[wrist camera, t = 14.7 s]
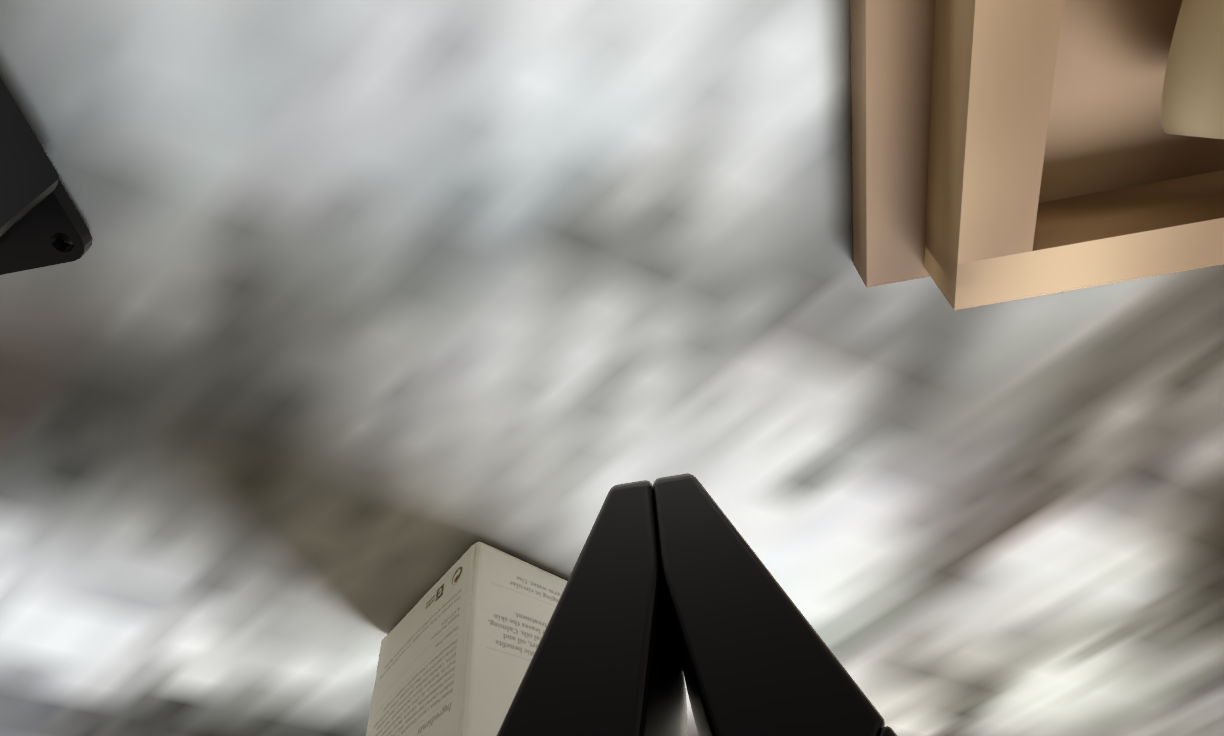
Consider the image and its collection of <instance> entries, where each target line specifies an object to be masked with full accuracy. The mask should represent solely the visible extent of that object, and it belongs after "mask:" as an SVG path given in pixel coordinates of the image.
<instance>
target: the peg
mask: <svg viewBox="0 0 1224 736" xmlns="http://www.w3.org/2000/svg"><path fill="white" fill-rule="evenodd" d="M1161 120H1162V127H1163V130H1164V131H1165V133H1167V134H1173V135H1183V136H1194V137H1204V138H1215V139H1224V0H1183V1H1182V4H1181V8H1180V11H1179V15H1178V18H1177V22H1176V26H1175V30H1174V34H1173V38H1172V42H1171V47H1170V51H1169V56H1168V61H1167V66H1166V72H1165V78H1164V85H1163V93H1162V106H1161Z"/></svg>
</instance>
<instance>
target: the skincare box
mask: <svg viewBox="0 0 1224 736" xmlns="http://www.w3.org/2000/svg"><path fill="white" fill-rule="evenodd" d="M567 582H568V581H566V580H564V579H562V578H560V577H557V576H555V575H553V574H551V573H548V572H546V571H544V570H542V569H540V568H537V567H535V566H533V565H531V564H529V563H527V562H524V561H522V560H520V559H518V558H516V557H513V556H511V555H509V554H507V553H504V552H502V551H500V550H498V549H496V548H494V547H491V546H489V545H487V544H485V543H482V542H476V543H475V544H473V545H472V546H471V547H470V548H469V549H468V550H467V551H466V552H465V553H464V554H463V555H462V557H461V558H460V559H459V560H458V561H457V562H456V563H455V564H454V565H453V566H452V567H451V568H450V569H449V570H448V571H447V572H446V573H445V574H444V575H443V576H442V577H441V579H440V580H439V581H438V582H437V583H436V584H435V585H434V586H433V587H432V588H431V589H430V590H429V591H428V592H427V593H426V594H425V595H424V596H423V597H422V599H421V600H420V601H419V602H418V603H417V604H416V605H415V606H414V607H413V608H412V609H411V611H410V612H409V613H408V614H407V615H406V616H405V617H404V618H403V619H402V620H401V621H400V622H399V623H398V624H397V625H396V626H395V627H394V628H393V630H392V631H391V632H390V633H389V634H388V635H387V636H386V637H385V638H384V639H383V640H382V643H381V649H380V654H379V661H378V667H377V674H376V681H375V686H374V691H373V696H372V702H371V708H370V715H369V721H368V727H367V733H366V736H497V734H498V731H499V729H500V727H501V725H502V723H503V721H504V718H505V716H506V714H507V712H508V710H509V708H510V705H511V703H512V701H513V699H514V697H515V695H516V692H517V690H518V688H519V686H520V684H521V682H522V679H523V677H524V675H525V673H526V671H527V668H528V666H529V664H530V662H531V660H532V658H533V655H534V653H535V651H536V649H537V647H538V645H539V642H540V640H541V638H542V636H543V634H544V632H545V629H546V627H547V625H548V623H549V621H550V619H551V616H552V614H553V612H554V610H555V608H556V606H557V603H558V601H559V599H560V597H561V595H562V592H563V590H564V588H565V586H566V584H567Z"/></svg>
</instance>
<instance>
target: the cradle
mask: <svg viewBox="0 0 1224 736" xmlns="http://www.w3.org/2000/svg"><path fill="white" fill-rule="evenodd" d="M1182 1H1183V0H850V44H851V117H852V191H853V264H854V266H855V267H856V269H857V271H858V273H859V275H860V276H861V278H862V280H863V282H864V283H865V285H866V287H872V286H878V285H883V284H889V283H895V282H901V281H906V280H912V279H918V278H924V277H929V276H931V278H932V279H933V280H934V282H935V283H936V285H937V286H938V288H939V289H940V290H941V292H942V293H943V295H944V296H945V298H946V299H947V300H948V302H949V303H950V305H951V306H952V308H953V309H954V310H959V309H964V308H970V307H976V306H982V305H988V304H994V303H999V302H1005V301H1011V300H1017V299H1023V298H1029V297H1034V296H1040V295H1046V294H1052V293H1058V292H1064V291H1069V290H1075V289H1081V288H1087V287H1093V286H1099V285H1104V284H1110V283H1116V282H1122V281H1128V280H1134V279H1139V278H1145V277H1151V276H1157V275H1163V274H1169V273H1174V272H1180V271H1186V270H1192V269H1198V268H1204V267H1210V266H1215V265H1221V264H1224V139H1215V138H1204V137H1194V136H1183V135H1173V134H1167V133H1165V131H1164V130H1163V127H1162V120H1161V106H1162V93H1163V85H1164V78H1165V72H1166V66H1167V61H1168V56H1169V51H1170V47H1171V42H1172V38H1173V34H1174V30H1175V26H1176V22H1177V18H1178V15H1179V11H1180V8H1181V4H1182Z"/></svg>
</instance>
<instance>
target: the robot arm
mask: <svg viewBox="0 0 1224 736" xmlns="http://www.w3.org/2000/svg"><path fill="white" fill-rule="evenodd" d="M58 179H59V176H58V173H57V172H56V170H55V168H54V167H53V165H52V163H51V162H50V160H49V158H48V157H47V155H46V153H45V152H44V150H43V148H42V147H41V145H40V143H39V142H38V140H37V138H36V137H35V135H34V133H33V132H32V130H31V128H30V127H29V125H28V123H27V122H26V120H25V118H24V116H23V115H22V113H21V111H20V110H19V108H18V106H17V105H16V103H15V101H14V100H13V98H12V96H11V95H10V93H9V91H8V90H7V88H6V86H5V85H4V83H3V81H2V80H1V78H0V275H2V274H7V273H12V272H18V271H23V270H28V269H34V268H39V267H44V266H49V265H55V264H60V263H65V262H71V261H75V260H77V259H79V258H81V257H82V256H83V255H84V254H85V253H86V251H87V250H88V249H89V248H90V247H91V245H92V237H91V234H90V231H89V230H88V228H87V226H86V225H85V223H84V221H83V220H82V218H81V216H80V215H79V213H78V211H77V210H76V208H75V206H74V205H73V203H72V201H71V200H70V198H69V196H68V195H67V193H66V191H65V190H64V188H63V186H62V185H61V183H60V181H59V180H58ZM59 233H62V234H64V235H67V236H68V237H69V238H70V239H71V240H72V242H73V244H69V243H66V242H64V241H63V240H62V239H61V238H60V236H59ZM684 677H685V680H684ZM685 682H686V686H687V691H688V695H689V699H690V703H691V708H692V712H693V716H694V720H695V723H696V727H697V731H698V734H699V736H897V735H896V734H895V732H894V731H893V730H892V729H891V728H890V727H888V726H886V727H884V719H883V718H882V716H881V715H880V714H879V712H878V711H877V710H876V709H875V707H874V706H873V705H872V703H871V702H870V701H869V700H868V698H867V697H866V696H865V694H864V693H863V692H862V691H861V689H860V688H859V687H858V685H857V684H856V683H855V682H854V680H853V679H852V678H851V676H850V675H849V674H848V673H847V671H846V670H845V669H844V667H843V666H842V665H841V664H840V662H839V661H838V660H837V658H836V657H835V656H834V655H833V653H832V652H831V651H830V649H829V648H828V647H827V646H826V644H825V643H824V642H823V640H822V639H821V638H820V637H819V635H818V634H817V633H816V631H815V630H814V629H813V628H812V626H811V625H810V624H809V622H808V621H807V620H806V619H805V617H804V616H803V615H802V613H801V612H800V611H799V610H798V608H797V607H796V606H795V604H794V603H793V602H792V600H791V599H790V598H789V597H788V595H787V594H786V593H785V591H784V590H783V589H782V588H781V586H780V585H779V584H778V582H777V581H776V580H775V579H774V577H773V576H772V575H771V573H770V572H769V571H768V570H767V568H766V567H765V566H764V564H763V563H762V562H761V561H760V559H759V558H758V557H757V555H756V554H755V553H754V552H753V550H752V549H751V548H750V546H749V545H748V544H747V543H746V541H745V540H744V539H743V537H742V536H741V535H740V534H739V532H738V531H737V530H736V528H735V527H734V526H733V525H732V523H731V522H730V521H729V519H728V518H727V517H726V516H725V514H724V513H723V512H722V510H721V509H720V508H719V507H718V505H717V504H716V503H715V501H714V500H713V499H712V498H711V496H710V495H709V494H708V492H707V491H706V490H705V489H704V487H703V486H702V485H701V483H700V482H699V481H698V480H697V478H696V477H694V476H693V475H691V474H682V475H675V476H669V477H663V478H658V479H656V480H655V481H654V484H653V486H652V484H651V483H650V482H649V481H638V482H632V483H626V484H620V485H615V486H614V487H612V488H611V489H610V491H609V493H608V495H607V497H606V499H605V501H604V503H603V506H602V508H601V510H600V512H599V514H598V516H597V519H596V521H595V523H594V525H593V527H592V530H591V532H590V534H589V536H588V538H587V540H586V543H585V545H584V547H583V549H582V551H581V553H580V556H579V558H578V560H577V562H576V564H575V566H574V569H573V571H572V573H571V575H570V577H569V579H568V582H567V584H566V586H565V588H564V590H563V592H562V595H561V597H560V599H559V601H558V603H557V606H556V608H555V610H554V612H553V614H552V616H551V619H550V621H549V623H548V625H547V627H546V629H545V632H544V634H543V636H542V638H541V640H540V642H539V645H538V647H537V649H536V651H535V653H534V655H533V658H532V660H531V662H530V664H529V666H528V668H527V671H526V673H525V675H524V677H523V679H522V682H521V684H520V686H519V688H518V690H517V692H516V695H515V697H514V699H513V701H512V703H511V705H510V708H509V710H508V712H507V714H506V716H505V718H504V721H503V723H502V725H501V727H500V729H499V731H498V734H497V736H688V733H687V704H686V689H685Z"/></svg>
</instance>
